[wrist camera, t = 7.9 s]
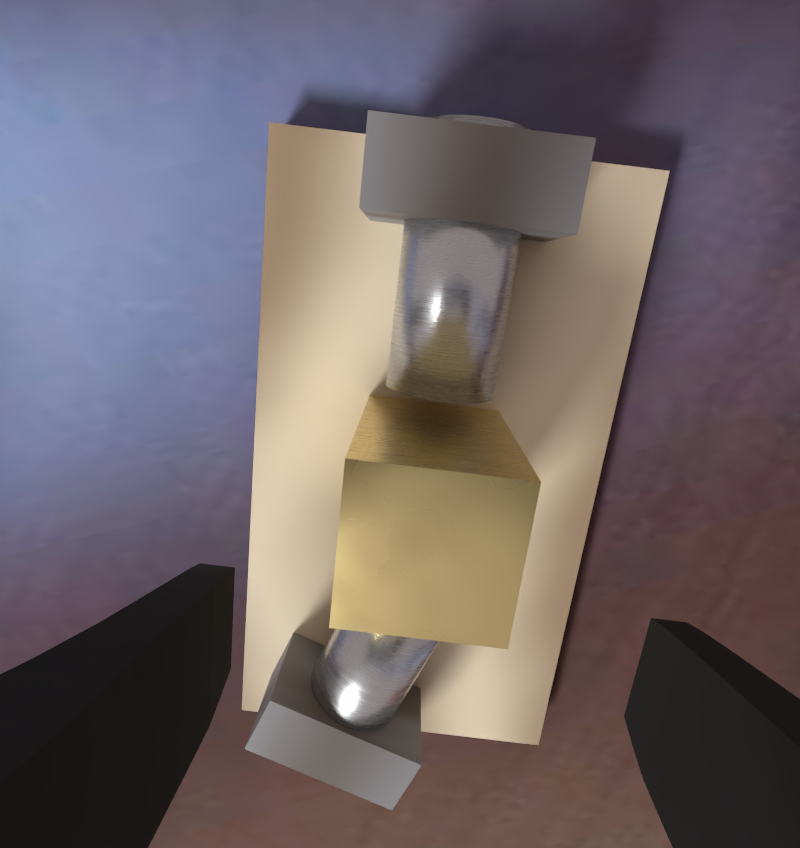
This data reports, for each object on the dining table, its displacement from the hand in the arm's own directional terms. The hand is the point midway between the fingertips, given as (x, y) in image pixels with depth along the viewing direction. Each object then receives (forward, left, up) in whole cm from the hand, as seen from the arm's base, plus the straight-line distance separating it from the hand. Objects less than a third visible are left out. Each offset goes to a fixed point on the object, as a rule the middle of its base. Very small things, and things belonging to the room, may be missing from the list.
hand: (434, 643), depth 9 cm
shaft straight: (0, -6, -8) cm, 10 cm away
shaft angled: (+1, +6, -8) cm, 11 cm away
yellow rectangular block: (0, 0, -8) cm, 8 cm away
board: (0, 0, -10) cm, 10 cm away
